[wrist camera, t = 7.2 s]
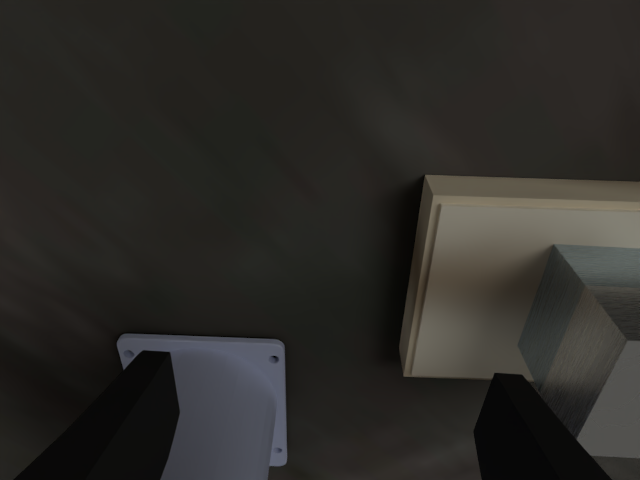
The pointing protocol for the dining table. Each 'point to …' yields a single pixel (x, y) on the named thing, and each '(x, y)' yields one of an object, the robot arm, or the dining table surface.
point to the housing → (589, 345)
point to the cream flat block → (497, 264)
